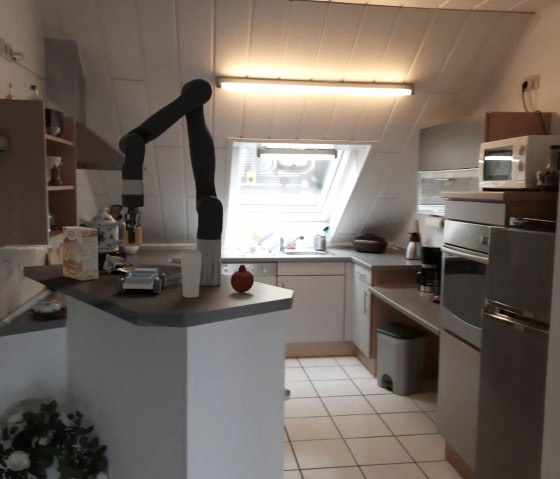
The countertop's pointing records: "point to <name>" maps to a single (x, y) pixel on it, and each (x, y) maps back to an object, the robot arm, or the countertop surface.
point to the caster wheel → (115, 263)
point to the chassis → (142, 280)
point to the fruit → (242, 280)
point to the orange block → (137, 237)
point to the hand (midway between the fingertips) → (133, 242)
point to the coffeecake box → (80, 253)
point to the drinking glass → (191, 273)
